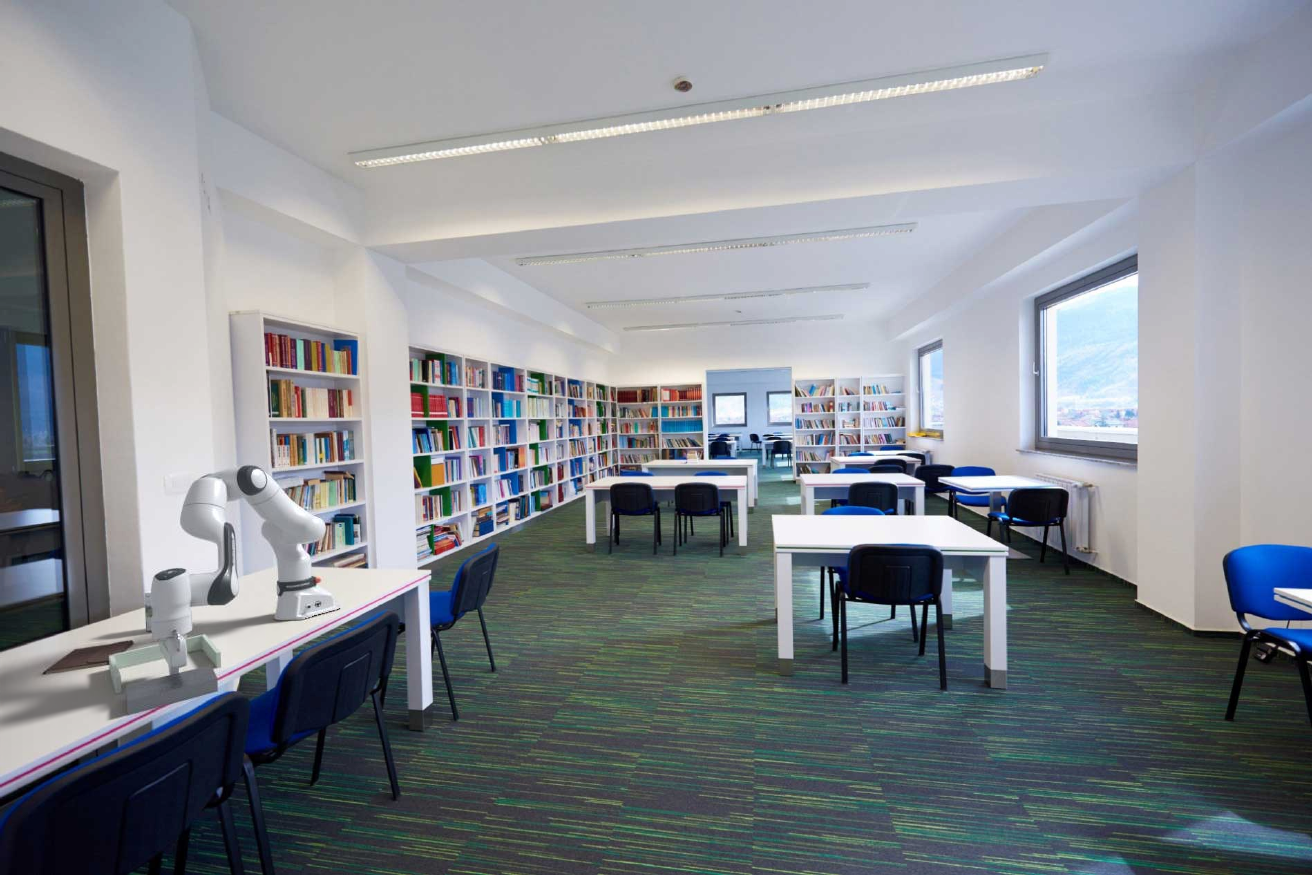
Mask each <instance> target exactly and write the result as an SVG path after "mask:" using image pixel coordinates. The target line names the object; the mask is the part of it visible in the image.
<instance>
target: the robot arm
mask: <svg viewBox="0 0 1312 875" xmlns="http://www.w3.org/2000/svg"><path fill="white" fill-rule="evenodd" d="M240 499H244V500H245V501H246V502H247V503H248V504H249V505H250V507H251V508H252V509H253V510H254V511H255V513H257V514H258V515H259V517H260V518H261V519H263V520H264V521H263V522H262V524H261V530H260V531H261V535H262V537H263V538H264V539H265V540H266V541H267V542H268V543H269V544H270V546H271V548H272V550H273V553H274V554H275V558H276V563H277V580H276V594H277V603H276V609H275V613H274V617H273V619H275V620H277V621H291V620H292V621H293V620H296V621H298V620H299V621H301V620H305V618H307V619H309V618H308V617H310V618H313V617H312V616H314V615H317V616H319V615H318V614H320V613H325V612H326V611H331V610H333V609H336V608H340V607H341V608H342V604H341V603H340V602H337V601H335V596H334V594H333V593H332V591H331V590H329V589H326V588H325V587H323V586H321V585H319V584H320V583H321V582H322V578H321V577H318V576H313V574H312V557H311V555H310V554H309V553H308V552H307V551H306V550H305V549H304V547H303V545H308V544H312V543H316V542H319V541H320V540H322V539H323V537H325V534H326V532H327V531H326V530H327V528H326V523H325V521H324V520H323V519H322V518H320V517H317V516H316V515H313V514H311V513H310V512H309V511H307V510H306V509H304V508H303V507H301V506H300V505H299V504H297V503H296V502H295V501H293V500H292V499H291V498H290V496H288V495H287V493H286V492H285V491H284V490H283V488H281V486H280V485H279V484H278V483H277V481H276V480H275V479H274V478H272V476H270V474H268V473H267V472H266V471H265V470H263V469H262V468H260V467H259V466H257V465H251V464H249V465H248V464H247V465H242V466H235V467H230V468H226V469H223V470H220V471H216V472H214V473H213V472H212V473H208V474H205V475H203V476H201V477H199V478H198V479H196V480H194V481H193V482H192V484H191V485H190V487H189V488H188V491H187V494H186V495H185V499H184V501H183V504H182V509H181V511H180V517H179V523H180V526H181V528H182V530H183V531H184V532H186V534H188V535H189V536H192V537H194V538H195V539H196V538H197V539H199V540H204V541H208V542H211V543H214V544H216V545H217V569H216V571H213V572H204V573H191V574H190V573H189V572H188V570H187V569H185V568H181V567H175V568H168V569H165V570H162V571H159V572H157V573H156V574H154V576H153V577H152V580H151V587H150V590H151V607H152V609H153V615H152V619H151V625H152V631H151V637H152V639H157V642H158V644H159V648H160V651H161V653H162V655H163V657H164V658H163V659H164V660H165V662H166V664H167V666H168V674H169V675H172V674H176V673H180V668H185V667H186V666H187V664H188V653H187V648H186V641H185V639H186V638H188V633H189V632H191V631H192V630H193V611H192V610H191V608H196V607H205V606H206V607H207V606H226V605H228V604H229V603H230V602H232V601H233V600H234V599H236V597H237V596H238V594H239V588H240V585H239V584H240V583H239V577H238V567H237V566H238V563H237V540H236V533H235V531H236V530H235V529H234V526H233V525H232V523H229V522H227V519H226V512H227V511H226V510H227V505H228V504H227V503H228V502H234V501H238V500H240ZM325 614H326V613H325ZM314 617H315V616H314Z"/></svg>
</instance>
